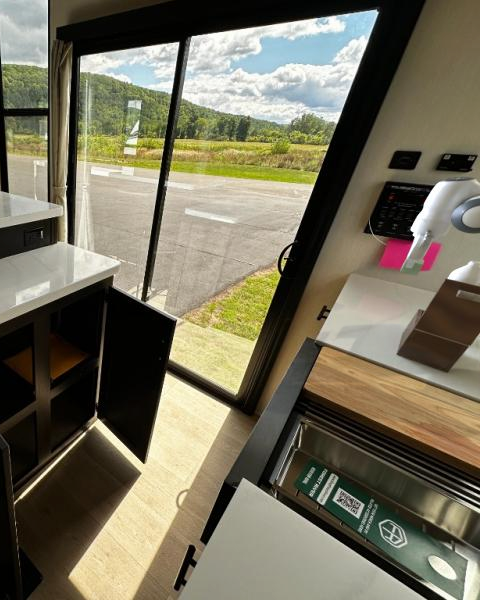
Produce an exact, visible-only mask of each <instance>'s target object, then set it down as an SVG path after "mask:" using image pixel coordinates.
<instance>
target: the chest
mask: <svg viewBox="0 0 480 600" xmlns="http://www.w3.org/2000/svg"><path fill="white" fill-rule="evenodd" d="M425 310H426V309H425ZM425 310H424V309H422V308H418V310H417V311H416V312H415V313H414V315H413V317H412V318H411V319H410V321H409V323H408V324H407V326H406V328H405V329H404V331H403V332H402V334H401V338H400V341H399V344H398V348H397V350H396V355H397V356H400V357H403V358H405V359H408V360H410V361H413V362H414V361H415V362H417V363H419V364H422V365H424V366H428V367H430V368H433V369H436V370H439V371H442V372H443V373H447V374H448V373H449V372H450V371H451V370H452V369H453V367H454V366H455V364H456V363H457V362H458V361H459V360H460V358H462V356H463V355H464V354H465V353H466V351H467V350H468V349H469V348H470V346H469V345H466V344H462V343H459V342H456V341H453V340H450V339H447V338H443V337H440V336H437V335H434V334H431V333H428V332H424V331H421V330H418V329H415V328H414V327H415V325H416V324H417V322H418V321H419V319H420V317H421V316H422V314H423V313H424V311H425Z"/></svg>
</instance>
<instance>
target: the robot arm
mask: <svg viewBox="0 0 480 600" xmlns="http://www.w3.org/2000/svg"><path fill="white" fill-rule="evenodd" d="M452 227H454V228H455V229H456V230H458V231H459V232H462V233H466V234H473V235H474V234H475V235H476V234H480V182H479V181H478V180H477V179H476V178H475V177H473V176H472V177H471V176H454V177H448V178H447V177H446V178H444V179H442V180H439V182H437V183H436V184H435V186H434V187H433V188H432V190H431V191H430V193H429V194H428V196H427V197H426V199H425V201H424V203H423V208H422V210H421V211H420V212H419V214H418V215H417V216H416V218H415V220H414V222H413V224H412V226H411V228H410V231H411V232H412V233H413V234H412V236H413V237H414V239H413V242H412V245H411V247H410V249H409V252H408V253H407V256H406V258H407V260H408V262H407V264H406V266H405V267H406V268H412V267H413V265H414V264H415V263H416V262H420V261H421V260H424V257H425V256H426V254H427V252H428V251H429V249H430V247H431V245H432V243H433V241H437V240H439V238H441V237H446V236H447V235H448V233H449V231H450V230H451V228H452Z"/></svg>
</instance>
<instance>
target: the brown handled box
mask: <svg viewBox="0 0 480 600" xmlns="http://www.w3.org/2000/svg"><path fill="white" fill-rule="evenodd" d="M414 328H415V329H418V330H421V331H424V332H428V333H431V334H434V335H437V336H440V337H443V338H447V339H450V340H453V341H456V342H459V343H462V344H466V345H469V347H471V346H472V345H473V343H474V342H475V340H476V339H477V338H478V336H479V335H480V285H473V284H469V283H464V282H460V281H456V280H451V279H448V277H447V278H444V280H443V282H442V283H441V285H440V286H439V288H438V290H437V291H436V293H435V294H434V296H433V298H431V300H430V302H429V303H428V305H427V306H426V308H425V311H424V313H423V314H422V316H421V317H420V319H419V321H418V322H417V324H416V325H415V327H414Z"/></svg>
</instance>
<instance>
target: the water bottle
mask: <svg viewBox="0 0 480 600" xmlns="http://www.w3.org/2000/svg"><path fill="white" fill-rule="evenodd" d="M447 279H451V280H456V281H460V282H464V283H469V284H473V285H477V286H479V284H480V261H479V260H475V259H474V260H472V259H471V260H470V261H469V262H467V264H466V265H464V266H461V267H458V268H456V269H454V270H453V271H451V273H450V274H449V275H448V277H447Z"/></svg>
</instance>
